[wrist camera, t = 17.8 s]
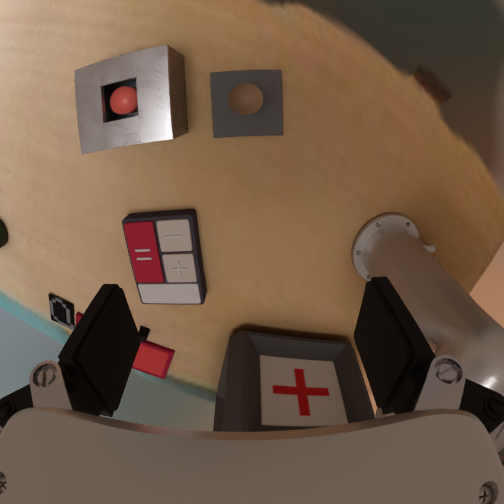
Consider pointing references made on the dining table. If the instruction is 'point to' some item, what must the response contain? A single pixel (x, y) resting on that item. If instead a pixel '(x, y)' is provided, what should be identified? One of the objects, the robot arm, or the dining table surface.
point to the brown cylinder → (245, 99)
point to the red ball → (124, 100)
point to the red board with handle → (149, 353)
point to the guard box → (148, 96)
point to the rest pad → (255, 124)
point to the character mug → (2, 235)
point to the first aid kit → (289, 384)
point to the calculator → (166, 256)
